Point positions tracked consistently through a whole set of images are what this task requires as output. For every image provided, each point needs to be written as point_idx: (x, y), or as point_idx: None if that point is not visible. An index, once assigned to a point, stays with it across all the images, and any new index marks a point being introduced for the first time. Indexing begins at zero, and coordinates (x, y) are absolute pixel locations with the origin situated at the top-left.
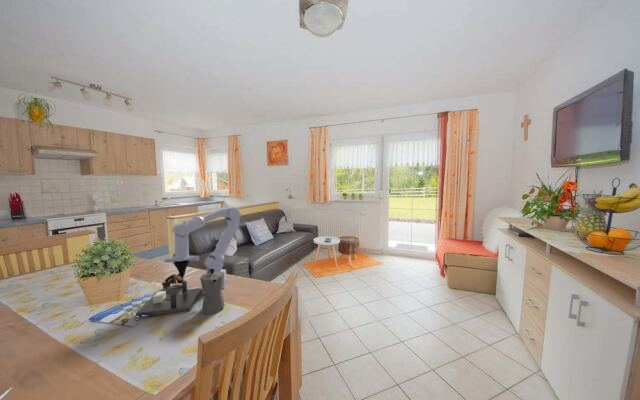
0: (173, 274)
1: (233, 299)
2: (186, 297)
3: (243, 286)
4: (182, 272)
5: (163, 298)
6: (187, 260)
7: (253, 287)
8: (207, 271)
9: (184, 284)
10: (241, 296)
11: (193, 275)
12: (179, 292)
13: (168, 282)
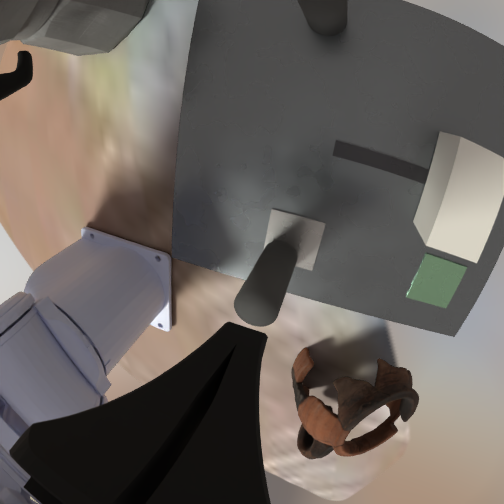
0: (346, 455)
1: (42, 85)
2: (249, 133)
3: (30, 209)
4: (201, 360)
5: (430, 180)
6: (30, 491)
7: (7, 183)
8: (80, 340)
9: (257, 277)
10: (24, 109)
11: (265, 440)
12: (317, 261)
13: (387, 394)
